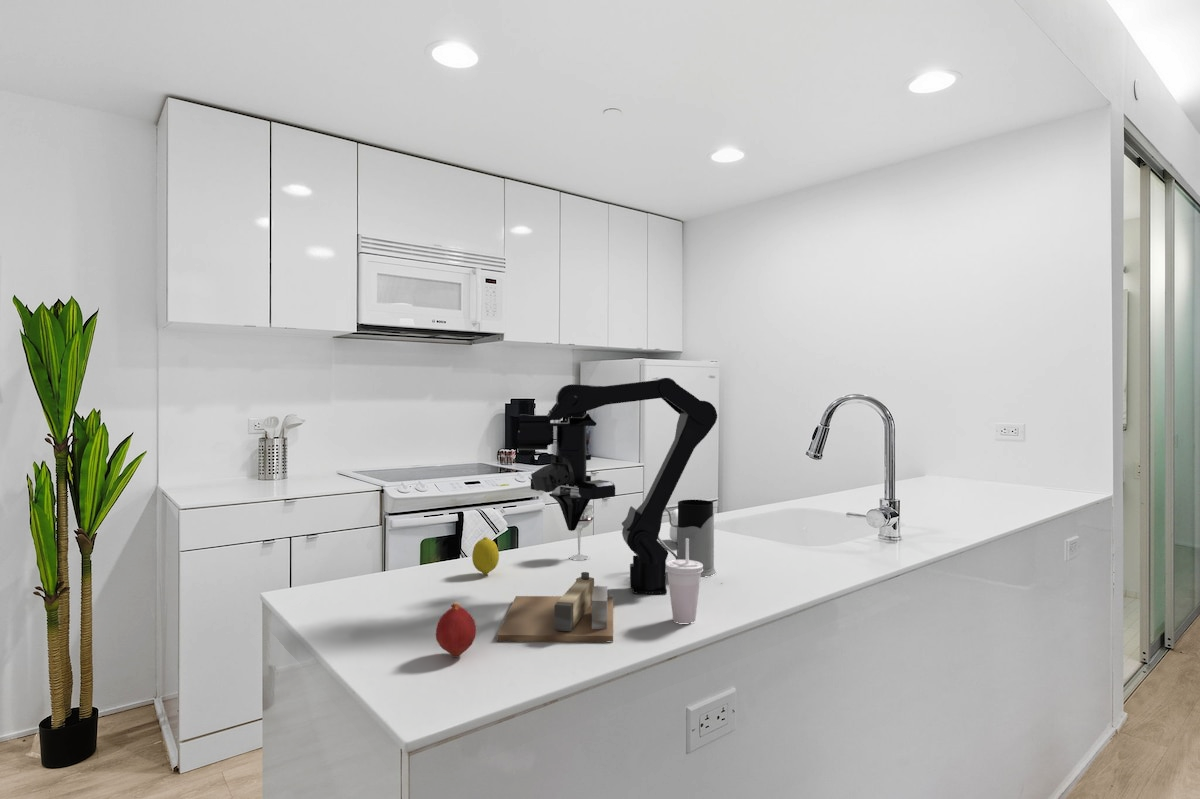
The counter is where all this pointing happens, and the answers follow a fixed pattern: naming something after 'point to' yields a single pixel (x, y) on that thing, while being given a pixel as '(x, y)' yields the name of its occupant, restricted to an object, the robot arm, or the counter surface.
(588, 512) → the wineglass
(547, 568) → the counter surface
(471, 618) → the onion
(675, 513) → the white rounded piece
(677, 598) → the smoothie
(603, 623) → the seat
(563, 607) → the leg
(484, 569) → the lemon
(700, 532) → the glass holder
